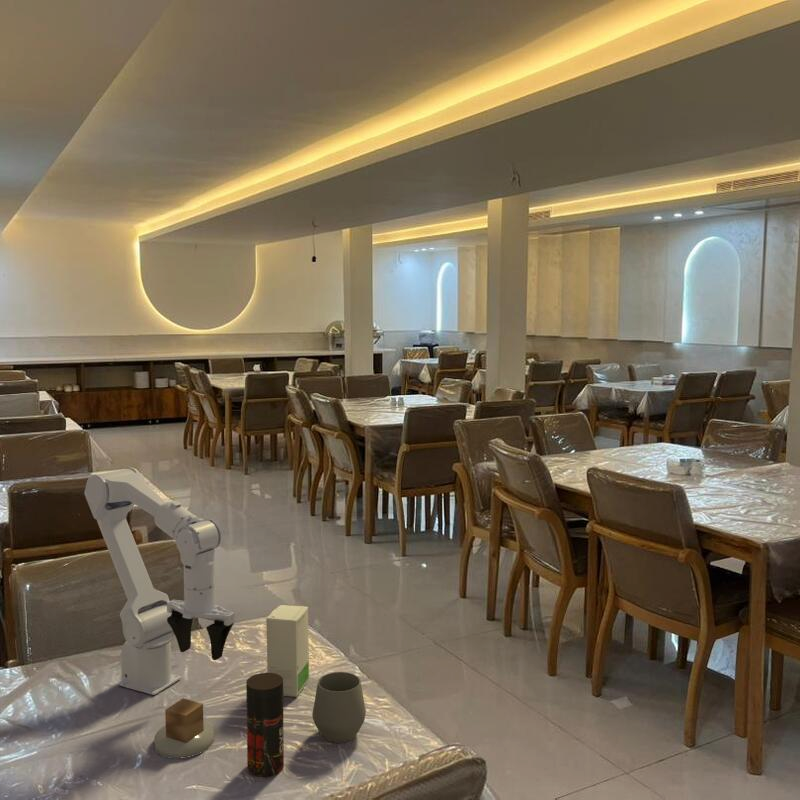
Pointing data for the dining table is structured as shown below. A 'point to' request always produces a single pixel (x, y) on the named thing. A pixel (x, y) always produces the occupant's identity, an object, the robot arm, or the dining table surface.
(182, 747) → the khaki round plate
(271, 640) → the skincare box
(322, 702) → the cup
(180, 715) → the walnut block
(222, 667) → the dining table surface
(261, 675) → the deodorant
